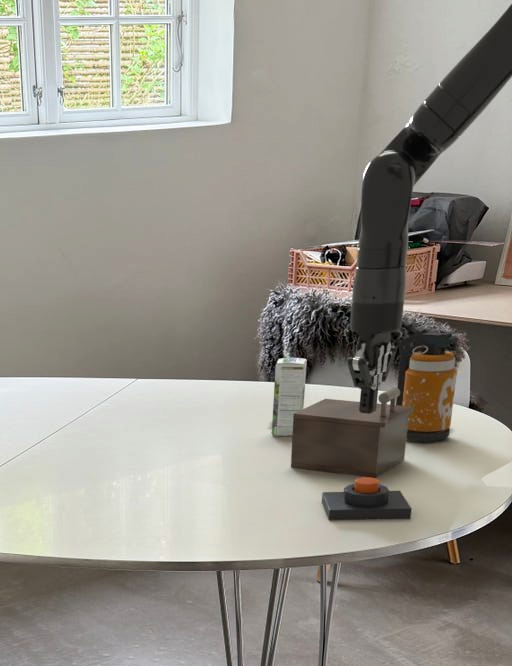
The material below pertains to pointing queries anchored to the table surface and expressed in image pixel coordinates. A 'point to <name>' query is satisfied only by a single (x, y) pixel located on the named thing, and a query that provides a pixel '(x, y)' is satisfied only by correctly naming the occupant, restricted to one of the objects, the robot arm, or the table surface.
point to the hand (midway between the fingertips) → (367, 412)
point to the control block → (365, 504)
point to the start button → (366, 485)
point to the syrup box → (288, 394)
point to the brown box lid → (357, 411)
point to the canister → (427, 384)
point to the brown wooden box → (348, 447)
